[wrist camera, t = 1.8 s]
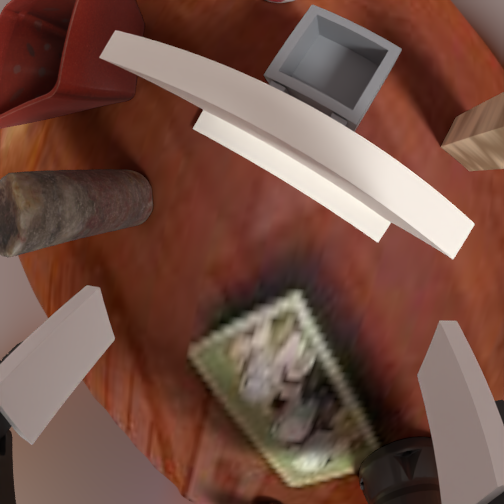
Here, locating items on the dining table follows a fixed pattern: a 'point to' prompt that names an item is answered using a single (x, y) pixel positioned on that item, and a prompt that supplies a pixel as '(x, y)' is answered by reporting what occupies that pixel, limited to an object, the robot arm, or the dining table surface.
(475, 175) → the dining table surface
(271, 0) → the soda can
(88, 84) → the plant pot
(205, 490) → the dining table surface
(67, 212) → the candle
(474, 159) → the rail
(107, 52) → the cup bracket
